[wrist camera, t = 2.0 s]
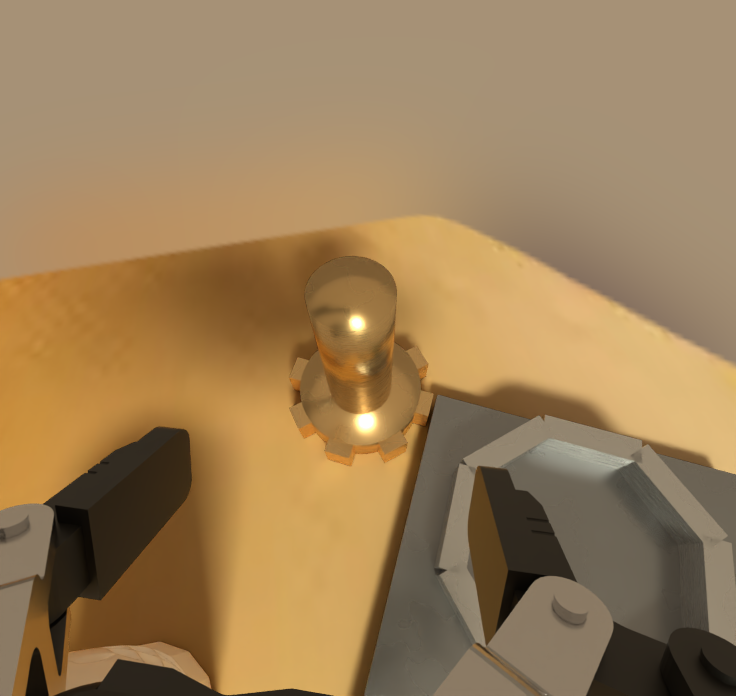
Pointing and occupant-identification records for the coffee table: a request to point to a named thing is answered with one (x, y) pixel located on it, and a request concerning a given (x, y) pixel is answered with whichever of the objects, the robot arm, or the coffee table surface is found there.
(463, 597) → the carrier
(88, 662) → the white cup
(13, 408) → the coffee table surface
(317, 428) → the gear
